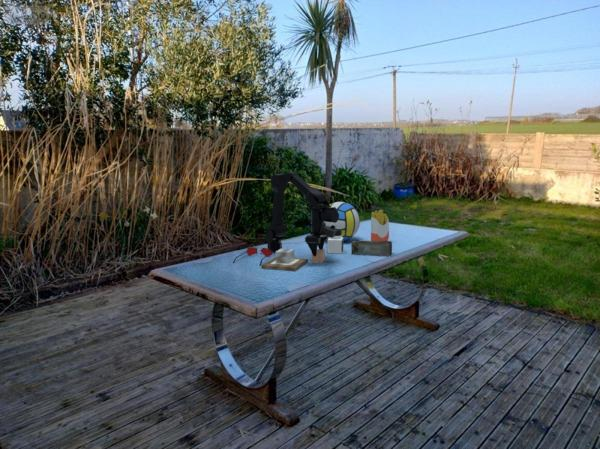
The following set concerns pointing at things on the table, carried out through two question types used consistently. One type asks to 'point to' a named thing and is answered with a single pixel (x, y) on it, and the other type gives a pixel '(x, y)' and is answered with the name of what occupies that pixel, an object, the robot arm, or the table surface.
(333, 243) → the medicine bottle
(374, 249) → the beverage carton
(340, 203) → the volleyball
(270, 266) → the base board
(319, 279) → the table surface
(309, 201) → the robot arm
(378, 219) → the french fries container
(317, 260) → the terracotta block
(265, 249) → the glasses
